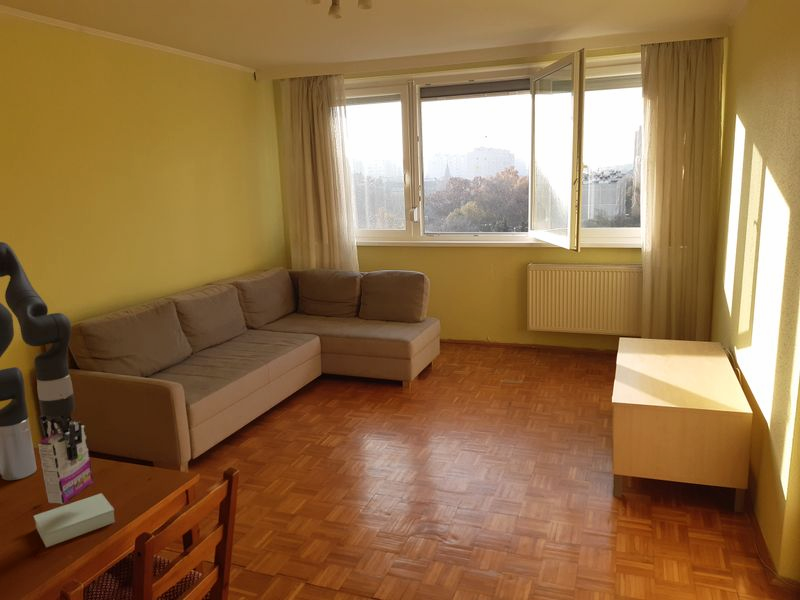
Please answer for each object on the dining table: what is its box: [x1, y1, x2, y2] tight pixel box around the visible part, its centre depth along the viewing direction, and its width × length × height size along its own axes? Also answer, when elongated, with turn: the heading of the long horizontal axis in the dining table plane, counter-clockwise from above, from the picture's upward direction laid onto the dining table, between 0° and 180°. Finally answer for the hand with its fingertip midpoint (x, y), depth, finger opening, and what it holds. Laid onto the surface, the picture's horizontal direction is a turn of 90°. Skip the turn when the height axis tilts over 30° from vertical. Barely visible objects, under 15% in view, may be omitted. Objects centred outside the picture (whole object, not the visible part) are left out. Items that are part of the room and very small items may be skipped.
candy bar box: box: [37, 425, 94, 505], centre depth 156 cm, size 11×5×16 cm, turn 168°
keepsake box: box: [33, 493, 116, 548], centre depth 159 cm, size 16×11×4 cm
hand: (65, 456), depth 156 cm, fingers closed on candy bar box, 6 cm apart
